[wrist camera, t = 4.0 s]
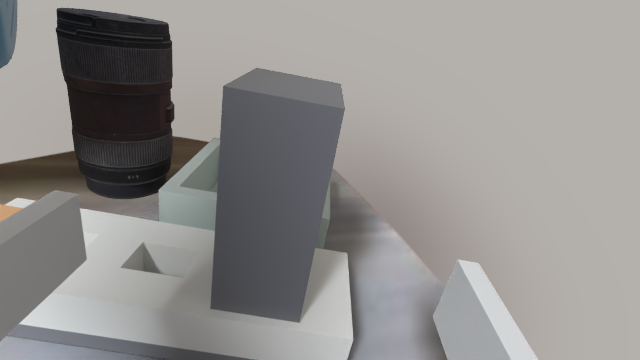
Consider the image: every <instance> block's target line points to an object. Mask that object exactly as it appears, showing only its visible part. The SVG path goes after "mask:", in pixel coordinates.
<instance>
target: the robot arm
mask: <svg viewBox="0 0 640 360" xmlns="http://www.w3.org/2000/svg"><path fill="white" fill-rule="evenodd" d="M16 30H17V0H0V68H2V67H3V66H5V65H7V64H8V62H9V60H10V59H11V58H12V55H13V52H14V48H15V41H16ZM86 260H87V256H86V249H85V241H84V234H83V227H82V219H81V212H80V205H79V197H78V194H75V193H69V192H64V191H58V190H54V191H52V192H50V193H49V194H47V195H45V196H44V197H42V198H40V199H39V200H37V201H35V202H33V203H32V204H30V205H28V206H27V207H25V208H23V209H21V210H20V211H18V212H16V213H15V214H13V215H11V216H9V217H8V218H6V219H4V220H3V221H1V222H0V341H1V340H2V339H3V338H4V337H5V336H6V335H8V334H9V333H10V332H11V331H12V330H13V329H14V328H15V327H16V326H17V325H18V324H19V323H20V322H21V321H22V320H23V319H25V318H26V317H27V316H28V315H29V314H30V313H31V312H32V311H33V310H34V309H35V308H36V307H37V306H38V305H39V304H40V303H41V302H43V301H44V300H45V299H46V298H47V297H48V296H49V295H50V294H51V293H52V292H53V291H54V290H55V289H56V288H57V287H58V286H60V285H61V284H62V283H63V282H64V281H65V280H66V279H67V278H68V277H69V276H70V275H71V274H72V273H73V272H74V271H75V270H76V269H78V268H79V267H80V266H81V265H82V264H83V263H84V262H85V261H86ZM433 319H434V322H435V325H436V328H437V331H438V334H439V337H440V340H441V343H442V345H443V348H444V351H445V354H446V357H447V360H538V359H537V358H536V356H535V354H534V352H533V351H532V350H531V348H530V346H529V344H528V343H527V341H526V339H525V338H524V336H523V335H522V333H521V331H520V330H519V328H518V327H517V325H516V323H515V322H514V320H513V318H512V317H511V315H510V313H509V312H508V310H507V309H506V307H505V305H504V304H503V302H502V300H501V299H500V297H499V296H498V294H497V292H496V291H495V289H494V287H493V286H492V284H491V283H490V281H489V279H488V278H487V276H486V274H485V273H484V271H483V270H482V268H481V267H480V265H479V263H474V262H469V261H463V260H457V262H456V264H455V266H454V269H453V271H452V273H451V275H450V278H449V280H448V282H447V285H446V287H445V289H444V292H443V294H442V296H441V298H440V301H439V303H438V305H437V308H436V310H435V312H434V315H433Z"/></svg>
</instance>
